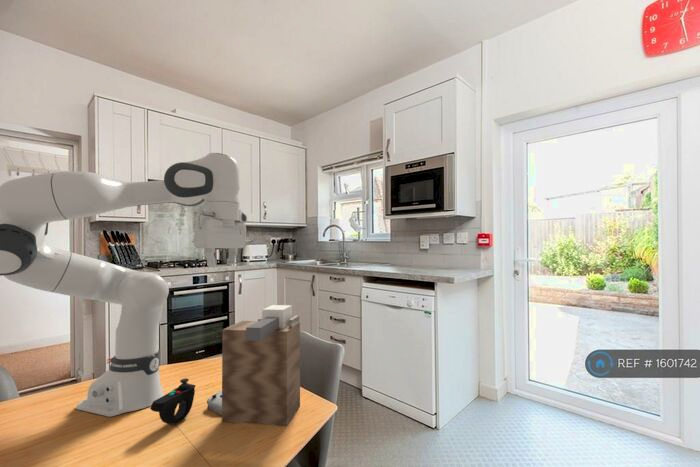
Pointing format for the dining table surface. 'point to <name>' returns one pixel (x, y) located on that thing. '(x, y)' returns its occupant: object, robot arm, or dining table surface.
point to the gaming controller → (215, 402)
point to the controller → (175, 403)
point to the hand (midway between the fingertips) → (221, 265)
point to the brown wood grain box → (261, 375)
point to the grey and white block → (269, 322)
